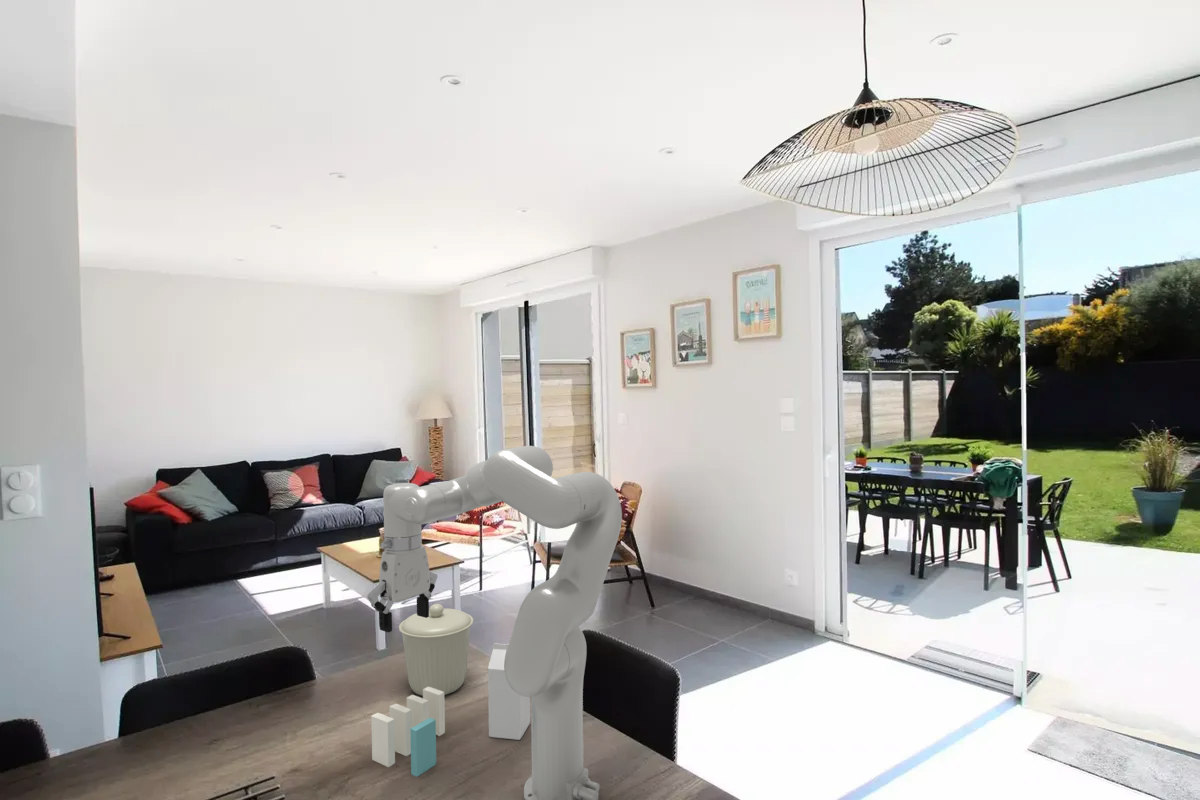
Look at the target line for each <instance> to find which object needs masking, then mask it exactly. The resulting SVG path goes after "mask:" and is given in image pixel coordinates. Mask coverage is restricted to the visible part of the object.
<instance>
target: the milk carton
mask: <svg viewBox="0 0 1200 800" xmlns="http://www.w3.org/2000/svg"><path fill="white" fill-rule="evenodd" d="M508 644H509V643H495V642H494V643H493V647H492V648H493V649H492V651H491V656H490V659H489V663H488V667H487V688H488V689H487V692H488V693H487V696H488V697H487V699H488V704H487V705H488V706H487V707H488V737H490V738H497V739H505V740H506V739H507V740H518V741H520V740H521V739H522V737H523V736H524V734H525V732H526V730H527V729H528V727H529V726H530V724H531V697H525V696H521V695H519V694H517V693H516V692H514V691H513V690H512V688H511V687H510V686H509V684H508V682H507V679H506V676H505V671H504V660H505V655H506V651H507V647H508Z"/></svg>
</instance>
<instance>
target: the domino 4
mask: <svg viewBox="0 0 1200 800" xmlns="http://www.w3.org/2000/svg"><path fill="white" fill-rule="evenodd" d="M410 733H411V754H410V769H411V770H410V772H411V773H410V774H411V776H413V777H416V778H417V777H419V776H421V775H423V774H424V773H425V772H427V771H428V770H430V769H431V768H433V767H434V766H436V765H437V735H436V720H435V719H432V718H428V719H427V720H425V721H423V722H421V723H420V724H418V725H416V726H414V727H413V728H411V729H410Z"/></svg>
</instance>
